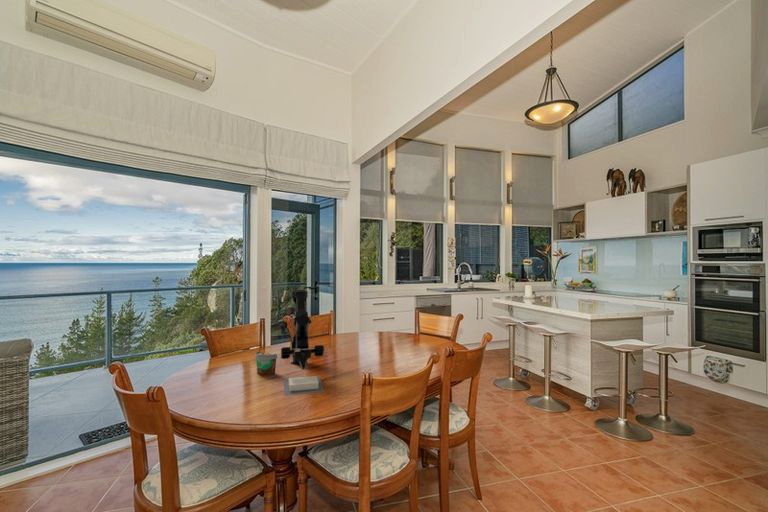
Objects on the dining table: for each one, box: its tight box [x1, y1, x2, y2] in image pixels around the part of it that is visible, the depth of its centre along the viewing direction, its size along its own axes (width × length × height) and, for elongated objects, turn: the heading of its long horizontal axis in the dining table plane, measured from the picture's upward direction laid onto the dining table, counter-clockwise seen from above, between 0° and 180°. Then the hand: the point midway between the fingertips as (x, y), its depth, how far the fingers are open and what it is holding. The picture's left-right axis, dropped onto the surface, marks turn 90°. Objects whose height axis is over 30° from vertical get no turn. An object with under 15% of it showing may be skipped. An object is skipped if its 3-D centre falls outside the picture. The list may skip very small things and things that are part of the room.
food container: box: [254, 350, 278, 376], centre depth 167 cm, size 12×6×10 cm, turn 62°
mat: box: [283, 375, 325, 397], centre depth 152 cm, size 20×16×1 cm
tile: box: [288, 375, 319, 392], centre depth 150 cm, size 3×12×9 cm
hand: (303, 368), depth 151 cm, fingers closed
